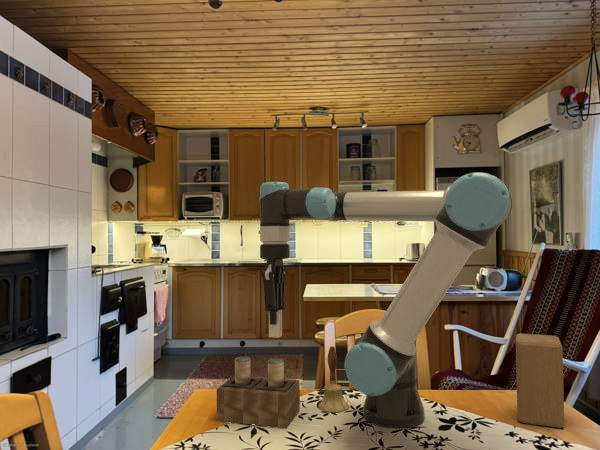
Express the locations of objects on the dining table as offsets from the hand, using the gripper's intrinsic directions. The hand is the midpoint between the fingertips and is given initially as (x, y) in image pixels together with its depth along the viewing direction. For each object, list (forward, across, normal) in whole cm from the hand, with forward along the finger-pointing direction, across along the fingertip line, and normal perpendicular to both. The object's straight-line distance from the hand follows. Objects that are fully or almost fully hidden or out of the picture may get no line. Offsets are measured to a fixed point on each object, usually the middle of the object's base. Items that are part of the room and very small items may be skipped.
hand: (275, 336), depth 119 cm
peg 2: (+14, 0, 0) cm, 14 cm away
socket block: (+20, 0, -4) cm, 21 cm away
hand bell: (+21, -11, +12) cm, 27 cm away
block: (+21, -15, +64) cm, 68 cm away
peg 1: (+14, 0, -9) cm, 17 cm away
